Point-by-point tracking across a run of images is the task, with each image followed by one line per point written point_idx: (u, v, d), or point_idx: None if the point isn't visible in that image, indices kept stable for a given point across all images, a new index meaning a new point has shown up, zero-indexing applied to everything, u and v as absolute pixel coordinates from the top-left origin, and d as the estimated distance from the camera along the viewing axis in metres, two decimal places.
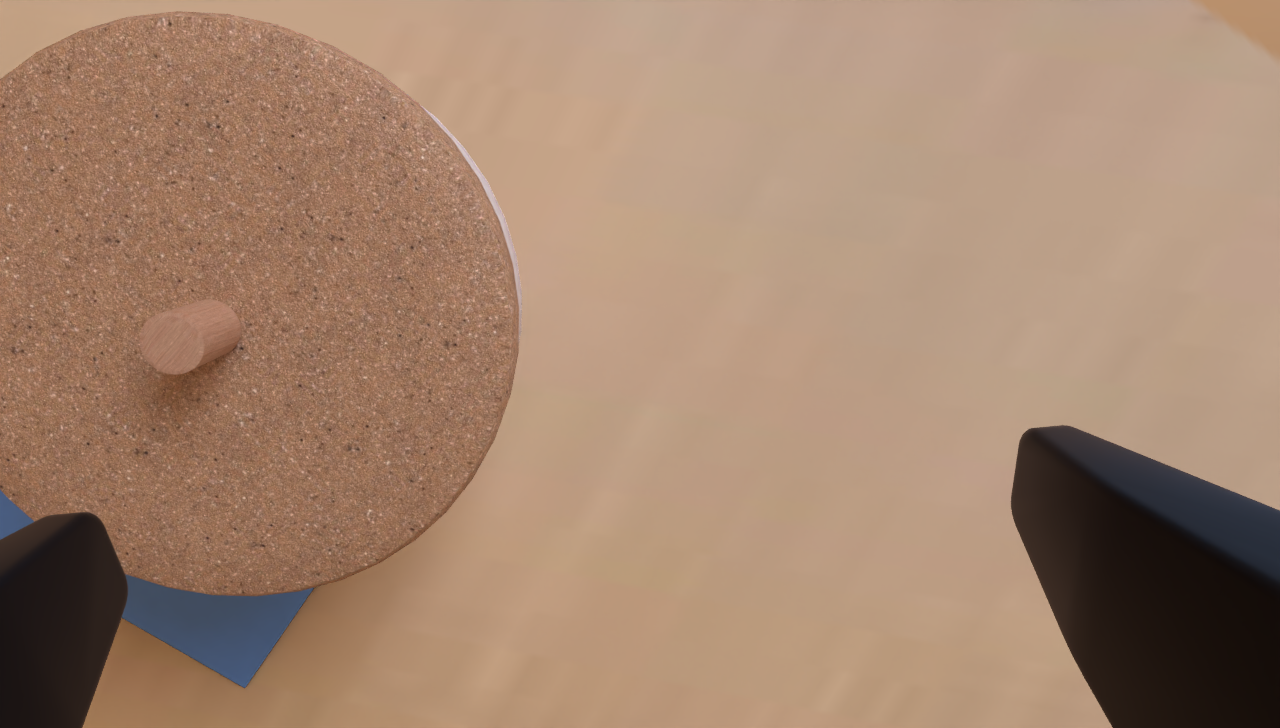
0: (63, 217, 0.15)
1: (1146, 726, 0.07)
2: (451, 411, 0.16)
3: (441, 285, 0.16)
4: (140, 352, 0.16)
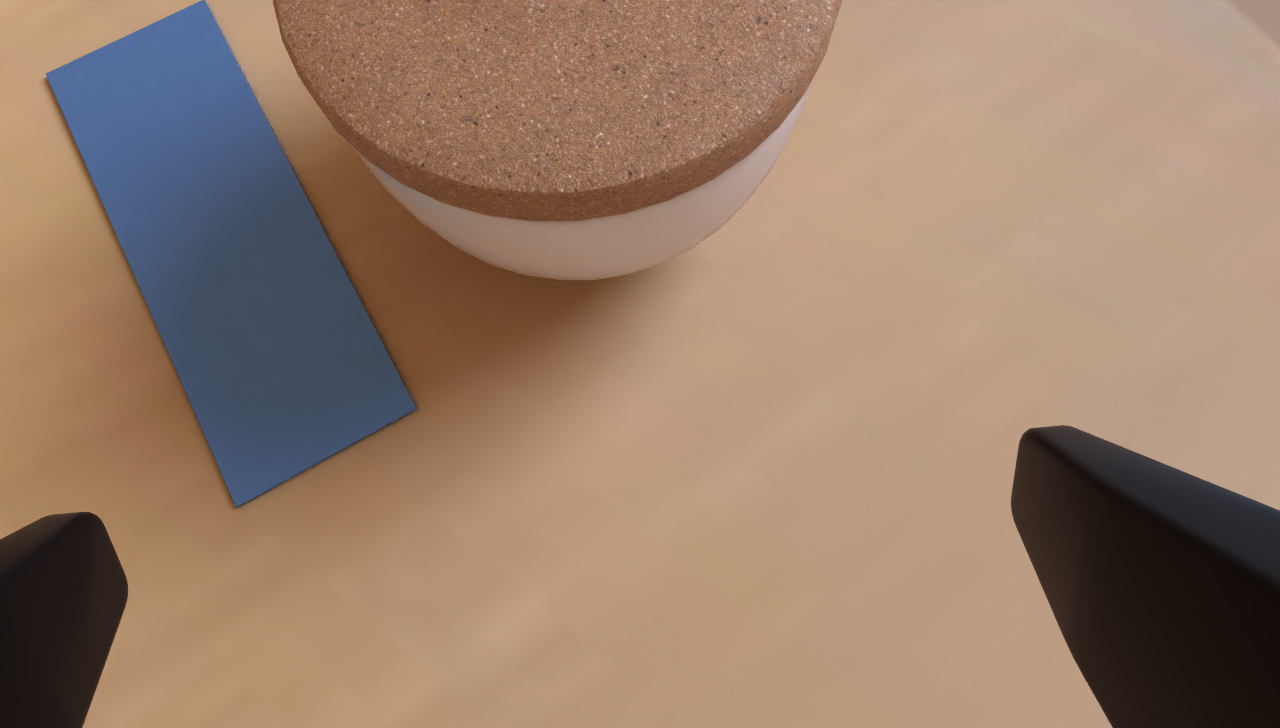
0: None
1: (1146, 726, 0.07)
2: (732, 77, 0.15)
3: None
4: None
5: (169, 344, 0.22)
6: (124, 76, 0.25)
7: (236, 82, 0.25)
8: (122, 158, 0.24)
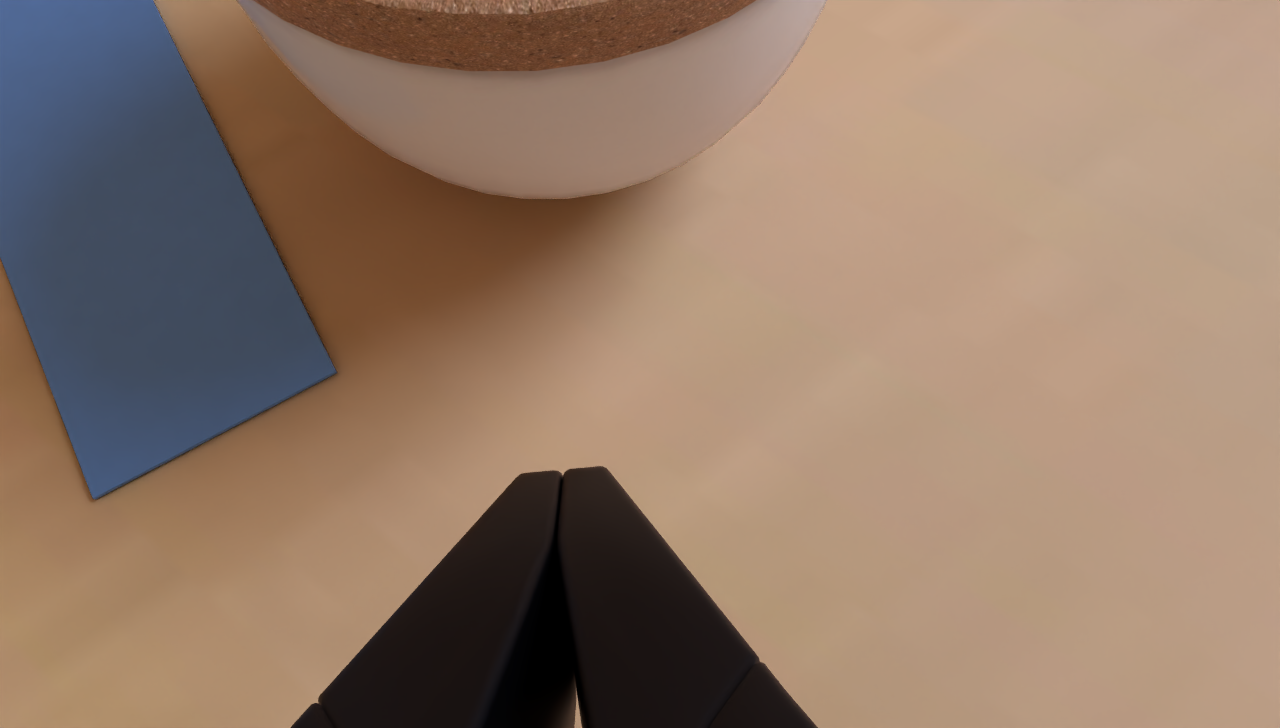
0: None
1: None
2: None
3: None
4: None
5: (19, 289, 0.17)
6: None
7: None
8: None
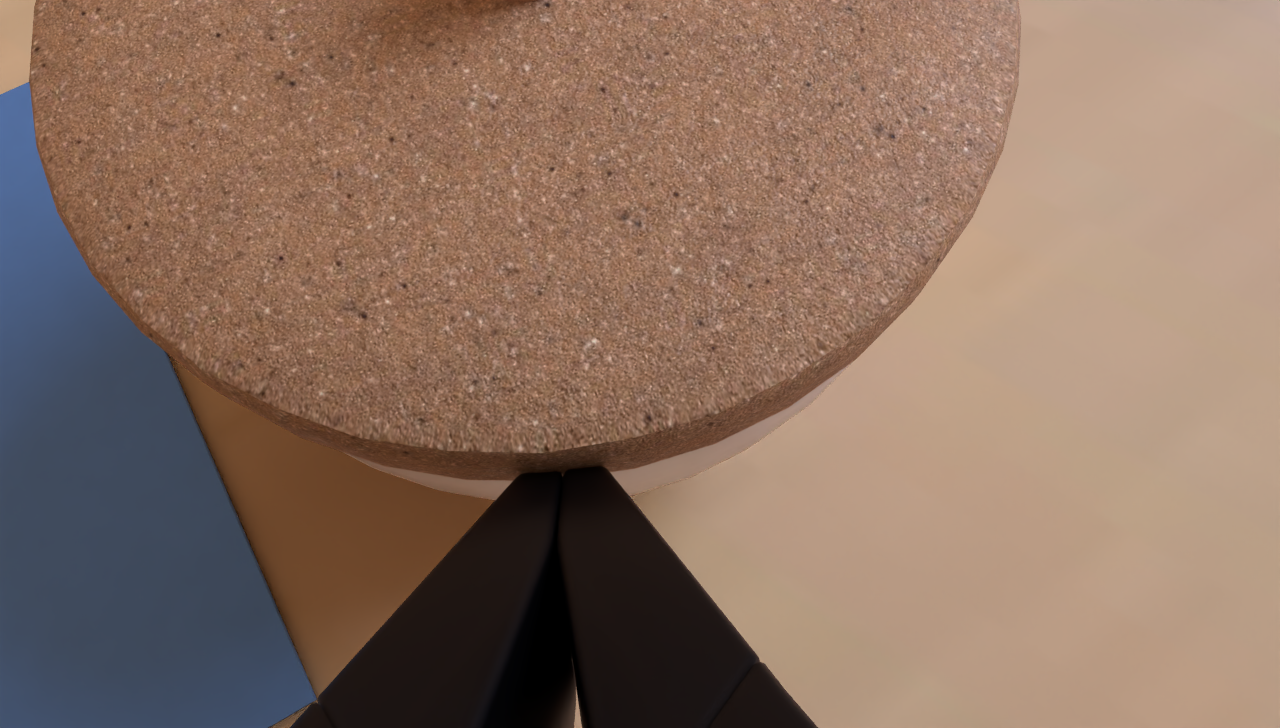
0: None
1: None
2: (834, 236, 0.08)
3: (909, 46, 0.09)
4: None
5: None
6: None
7: None
8: None
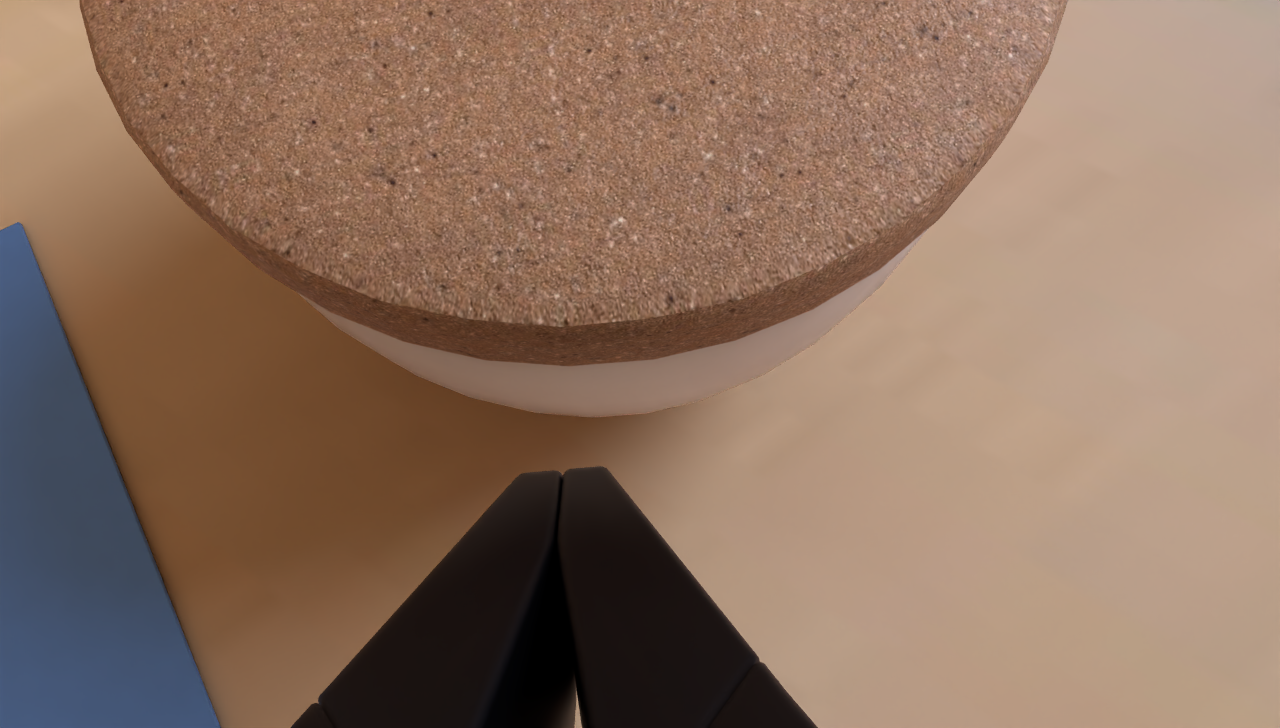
0: None
1: None
2: (870, 132, 0.08)
3: None
4: None
5: None
6: None
7: (58, 358, 0.16)
8: None
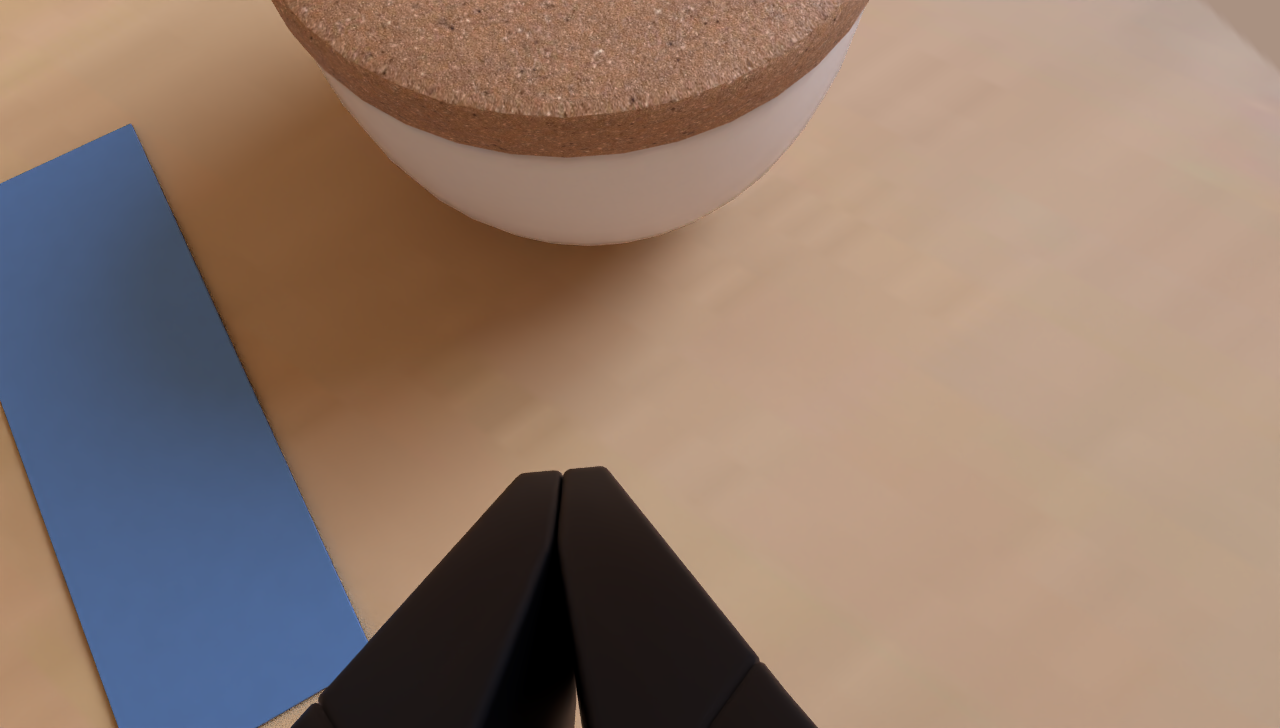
0: None
1: None
2: None
3: None
4: None
5: (67, 569, 0.18)
6: (30, 218, 0.20)
7: (165, 227, 0.20)
8: (20, 324, 0.20)
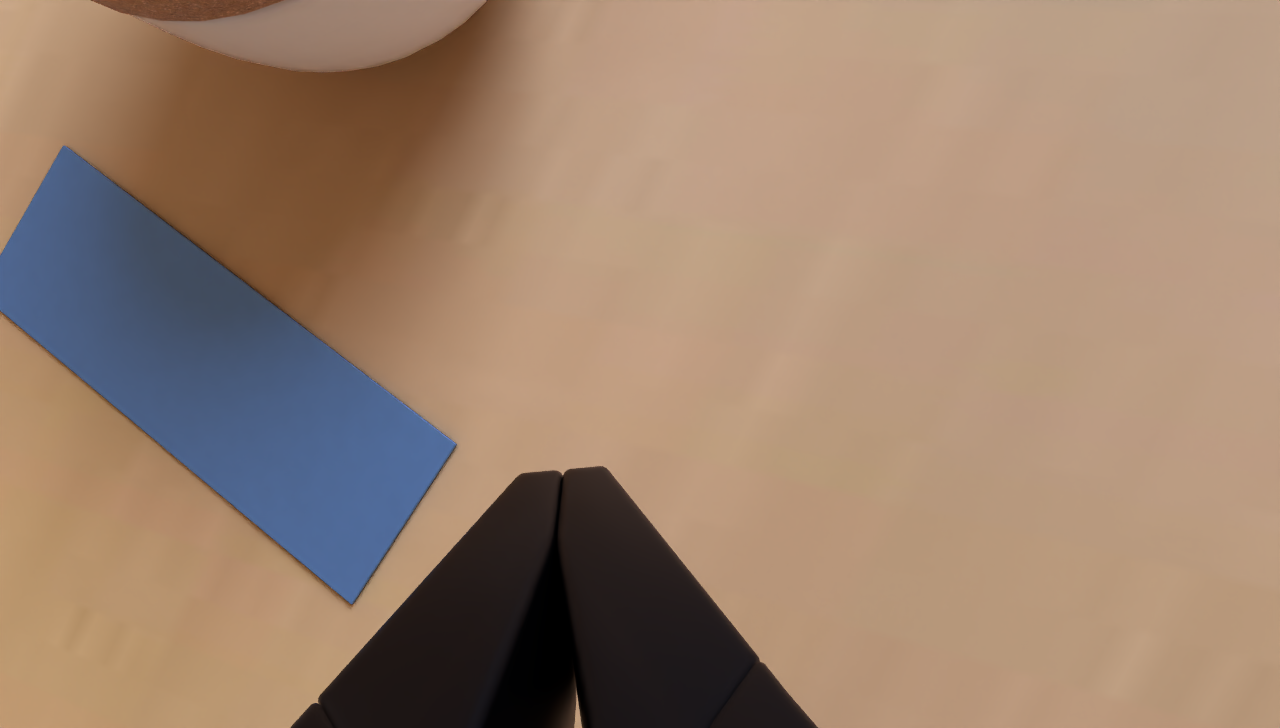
0: None
1: None
2: None
3: None
4: None
5: (218, 488, 0.23)
6: (42, 258, 0.24)
7: (136, 211, 0.24)
8: (84, 338, 0.24)
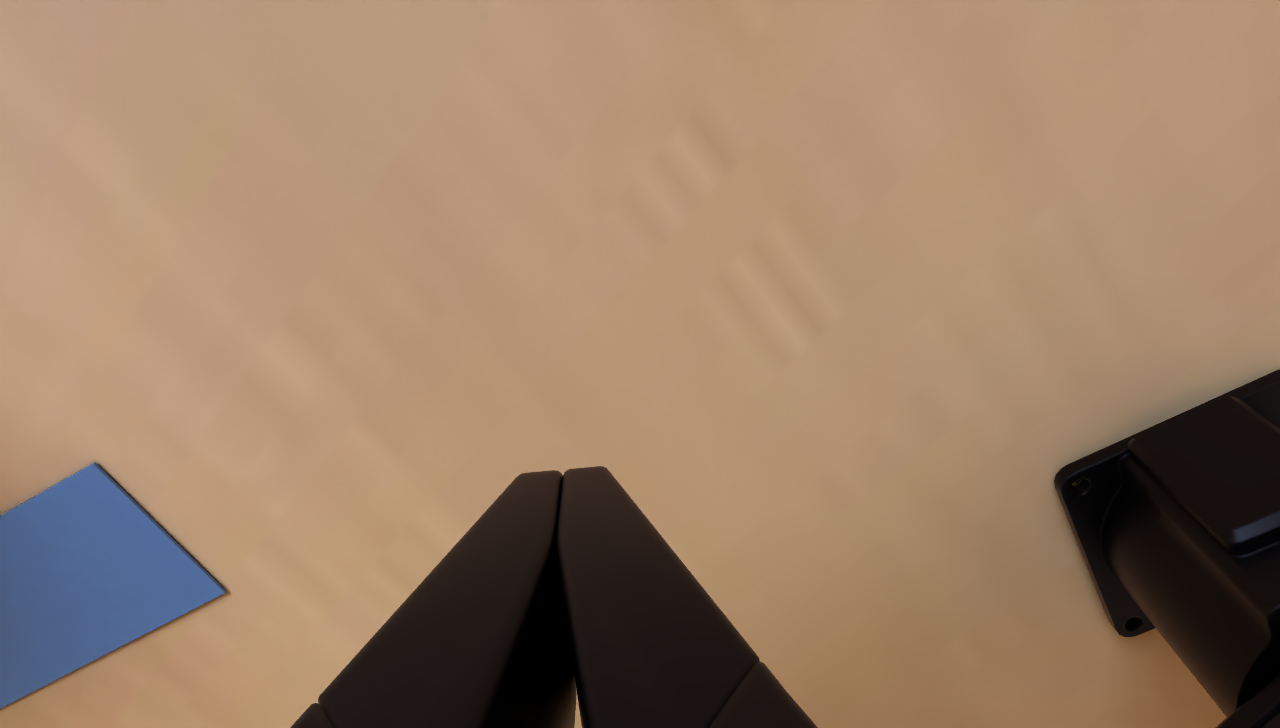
0: None
1: None
2: None
3: None
4: None
5: (89, 658, 0.25)
6: None
7: None
8: None
